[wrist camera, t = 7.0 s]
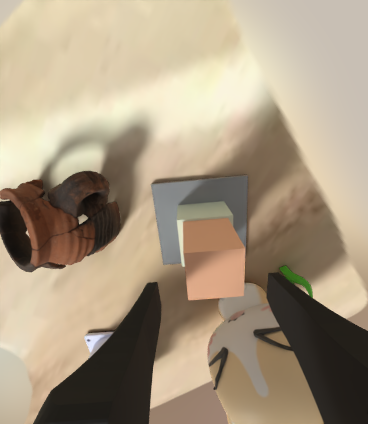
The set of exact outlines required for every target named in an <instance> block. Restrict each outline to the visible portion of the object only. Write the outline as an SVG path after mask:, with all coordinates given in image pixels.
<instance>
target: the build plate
mask: <svg viewBox="0 0 368 424" xmlns="http://www.w3.org/2000/svg"><path fill="white" fill-rule="evenodd" d="M151 187H152V194H153V200H154V207H155V213H156V219H157V226H158V232H159V239H160V245H161V252H162V258H163V265H167V264H179V263H182V262H181V253H180V244H179V236H178V227H177V207H178V205H186V204H197V203H208V202H219V201H224V202H225V203H226V205H227V206H228V208H229V209H230V211H231V212H232V214H233V228H234V229H235V231H236V233H237V234H238V236H239V238H240V240H241V241H242V243H243V245H244V247H245V258H246V227H247V194H248V175H239V176H228V177H218V178H207V179H196V180H185V181H174V182H163V183H152V184H151Z"/></svg>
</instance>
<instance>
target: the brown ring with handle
mask: <svg viewBox="0 0 368 424" xmlns="http://www.w3.org/2000/svg"><path fill="white" fill-rule="evenodd" d="M42 185H43V183H42V180H32V181H30V182H26V183H22V184H20V185H19V186H18V188H17V189H11V188H5V189H3V190H1V191H0V198H1V199H3V200H6V199H10V201H1V202H0V234H1V237H2V240H3V243H4V245H5V247H6V249H7V251H8V253H9V255H10V257H11V258H12V260H13V261H14V262H15V263H16V265H17V266H18V267H19V268H20V269H22V270H24V271H26V272H33V271H34V270H36V269H37V268H40V267H45V268H50V269H62V268H64V267H66V265H72V264H74V263H77V262H80V261H81V260H82V259H83V258H84V257H85V256H90V255H91V254H94V253H96V252H99V251H101V250H103V249H104V248H105V247H106V246H107V245H108V244H109V243H111V242H112V241H113V240H114V239H115V238H116V236H117V235H118V232H119V229H120V221H121V219H120V213H119V209H118V206H117V203H116V202H112V203H108V204H106V203H107V196H108V193H109V190H110V189H109V183H108V181H107V180H106V179H105V178H104V177H103V176H102V175H101V174H98V173H97V172H93V171H83V172H78V173H75V174H73V175H71V176H70V177H68V178H67V179H66V180H64V181H63V183H62V184H59V185H58V186H56V187H54V188H52V189H51V190H50V191H49V193H48V198H49V200H50V201H46V200H44V199H42V197H43V195H44V194H45V191H44V190H43V189H42ZM82 214H84V215H86V216H87V217H88V219H87V220H86V221H85V222H83V223H82V224H79V220H78V218H77V217H79V216H81V215H82ZM27 229H28V233H29V236H30V238H29V236H28V235H27V234H26V231H27Z"/></svg>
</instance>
